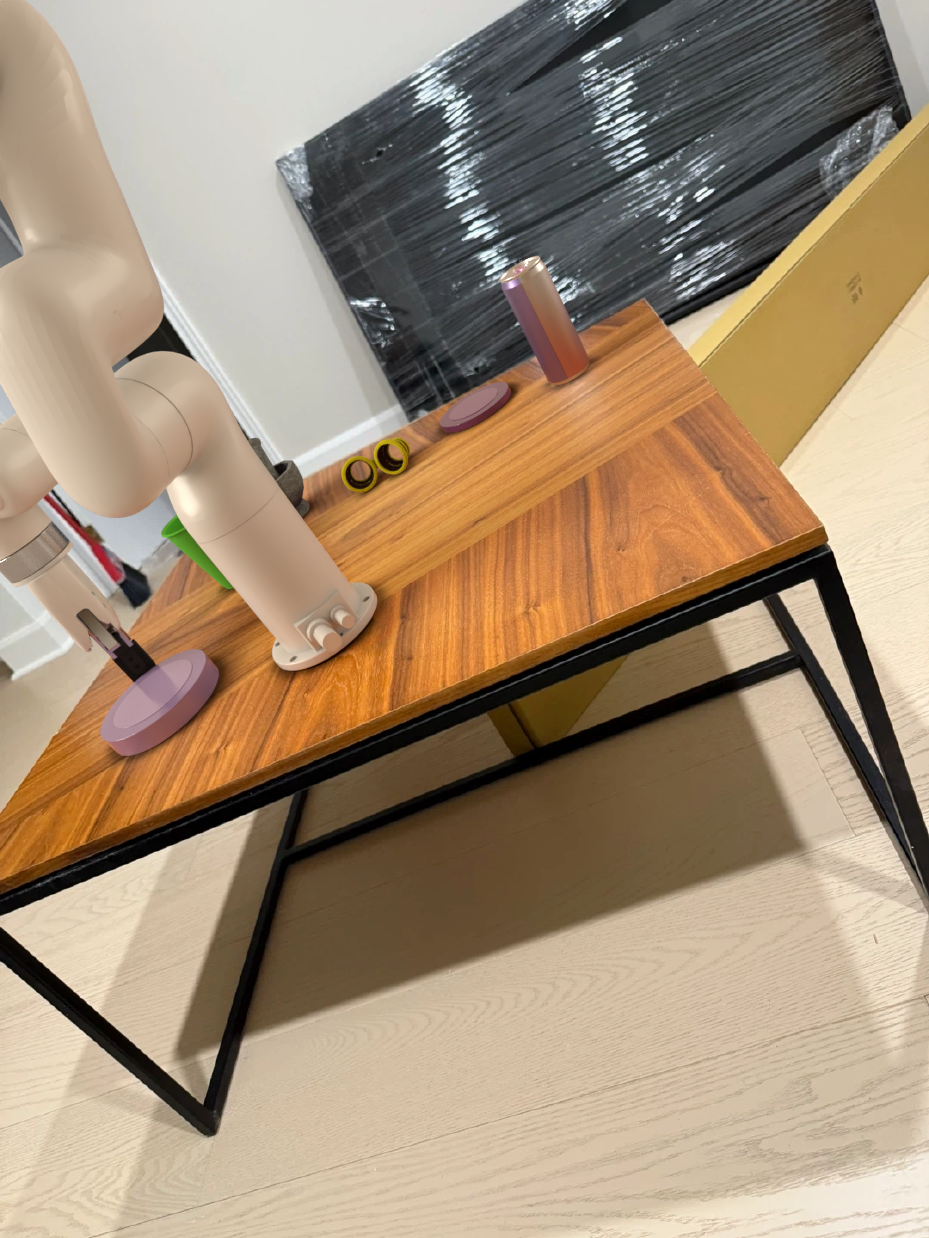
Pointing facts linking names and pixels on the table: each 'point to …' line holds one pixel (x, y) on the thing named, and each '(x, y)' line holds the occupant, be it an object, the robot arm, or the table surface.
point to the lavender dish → (160, 702)
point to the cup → (192, 549)
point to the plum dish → (475, 407)
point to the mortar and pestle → (284, 477)
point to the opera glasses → (377, 464)
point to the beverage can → (545, 321)
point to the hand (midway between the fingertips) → (145, 672)
